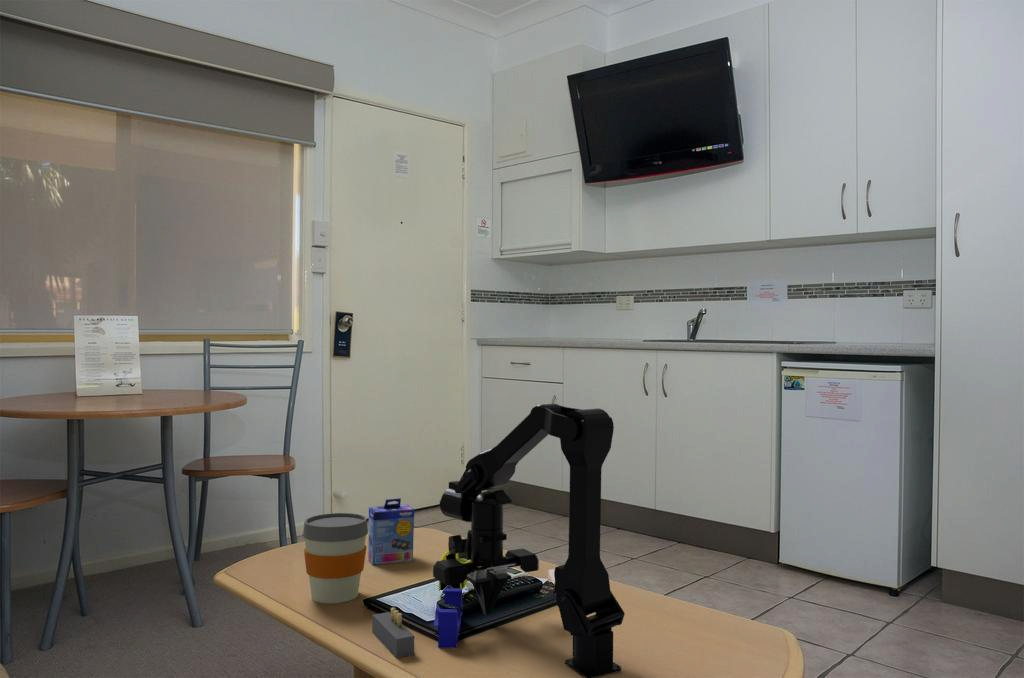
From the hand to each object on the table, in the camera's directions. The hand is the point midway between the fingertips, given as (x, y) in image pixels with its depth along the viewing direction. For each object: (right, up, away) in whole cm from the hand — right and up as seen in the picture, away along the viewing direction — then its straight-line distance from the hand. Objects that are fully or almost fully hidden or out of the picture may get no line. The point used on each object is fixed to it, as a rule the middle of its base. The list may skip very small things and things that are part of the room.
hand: (486, 614), depth 132 cm
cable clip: (-7, -2, -5) cm, 8 cm away
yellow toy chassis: (-4, -2, +20) cm, 21 cm away
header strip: (-15, -1, -9) cm, 18 cm away
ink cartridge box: (-23, -2, +39) cm, 45 cm away
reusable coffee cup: (-30, -2, +14) cm, 34 cm away
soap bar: (+15, -3, +22) cm, 27 cm away
